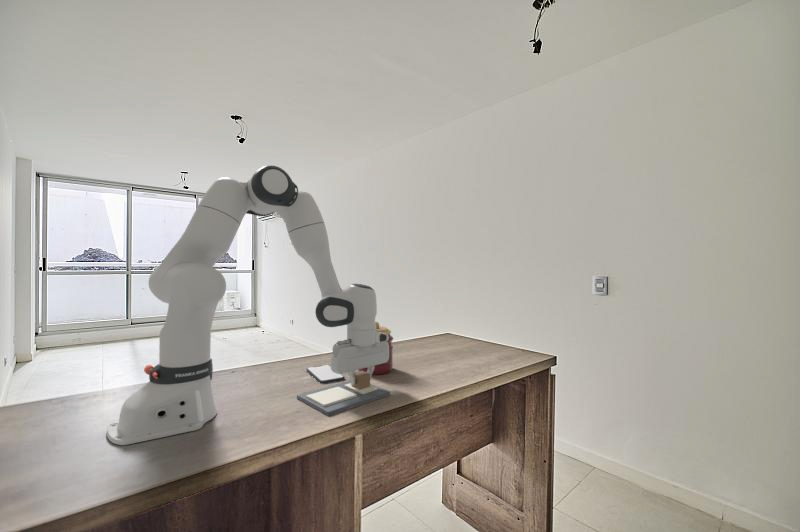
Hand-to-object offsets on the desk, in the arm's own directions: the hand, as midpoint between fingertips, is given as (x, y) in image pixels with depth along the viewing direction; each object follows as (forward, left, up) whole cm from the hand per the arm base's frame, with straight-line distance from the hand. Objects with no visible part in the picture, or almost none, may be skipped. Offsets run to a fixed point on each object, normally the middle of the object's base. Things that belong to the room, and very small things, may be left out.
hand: (360, 382), depth 113 cm
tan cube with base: (0, 0, -2) cm, 2 cm away
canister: (+18, +14, -3) cm, 23 cm away
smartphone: (+1, +21, -4) cm, 21 cm away
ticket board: (-6, 0, -3) cm, 7 cm away
